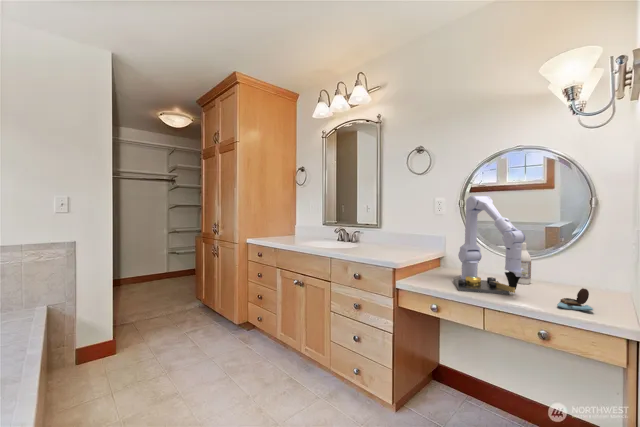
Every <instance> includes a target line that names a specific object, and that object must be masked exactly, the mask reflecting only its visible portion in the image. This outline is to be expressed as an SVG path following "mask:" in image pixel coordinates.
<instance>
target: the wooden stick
mask: <svg viewBox="0 0 640 427" xmlns="http://www.w3.org/2000/svg"><path fill="white" fill-rule="evenodd" d="M497 281H498V280H496V281H489V286H491V287H496V288H500V289H503V290H506V291H509V293H512V294H515V293H516V290H515V287H512V286H509V284H505V283H501V282H499V281H498V282H499V283H498V282H497Z"/></svg>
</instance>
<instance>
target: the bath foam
mask: <svg viewBox="0 0 640 427" xmlns="http://www.w3.org/2000/svg"><path fill="white" fill-rule="evenodd" d="M521 268H523V269H524V271H521V272H522V277H520V279H519V281H518V283H517V284H521V285H530V284H531V282H532V281H531V280H532V258H531V255H530V253H529V252H528V250H527V242H523V243H522V251H521Z"/></svg>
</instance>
